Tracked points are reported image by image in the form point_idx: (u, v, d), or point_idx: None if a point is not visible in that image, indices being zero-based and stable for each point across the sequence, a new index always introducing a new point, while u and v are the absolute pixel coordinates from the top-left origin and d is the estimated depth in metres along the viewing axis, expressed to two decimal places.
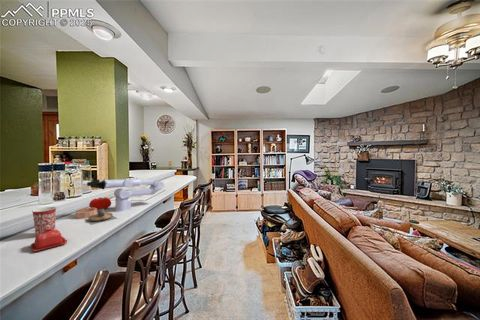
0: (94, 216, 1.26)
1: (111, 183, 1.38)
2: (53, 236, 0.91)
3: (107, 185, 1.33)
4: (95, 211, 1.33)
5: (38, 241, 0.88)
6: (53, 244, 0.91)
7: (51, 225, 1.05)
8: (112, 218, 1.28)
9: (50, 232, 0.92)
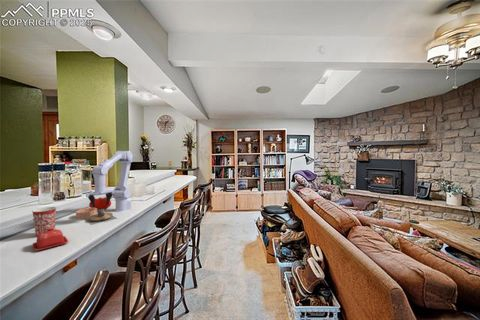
0: (94, 216, 1.26)
1: (105, 186, 1.28)
2: (55, 235, 0.92)
3: None
4: (95, 211, 1.33)
5: (40, 240, 0.89)
6: (55, 243, 0.92)
7: (51, 225, 1.05)
8: (112, 218, 1.28)
9: (52, 231, 0.93)
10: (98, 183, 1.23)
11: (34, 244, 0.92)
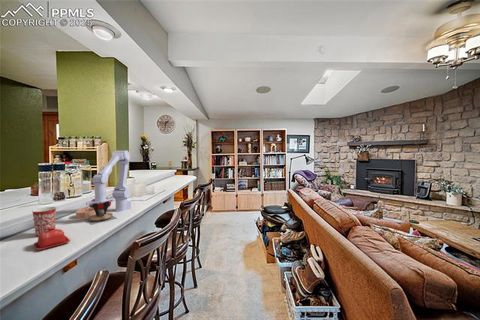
0: (94, 216, 1.26)
1: (105, 195, 1.28)
2: (57, 235, 0.93)
3: None
4: None
5: (42, 240, 0.89)
6: (56, 243, 0.92)
7: (51, 225, 1.05)
8: (112, 218, 1.28)
9: (53, 231, 0.93)
10: (98, 192, 1.24)
11: (35, 244, 0.92)
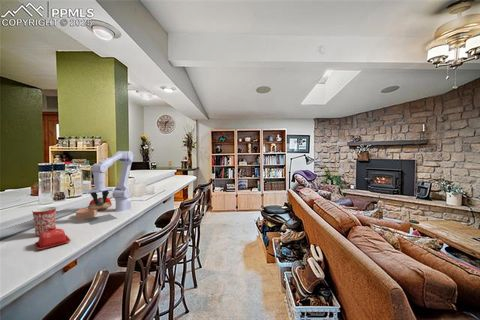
0: (93, 205, 1.26)
1: None
2: (57, 234, 0.93)
3: None
4: (95, 211, 1.33)
5: (42, 239, 0.89)
6: (57, 242, 0.93)
7: (51, 225, 1.05)
8: (112, 218, 1.28)
9: (54, 231, 0.94)
10: (97, 181, 1.24)
11: (36, 243, 0.93)
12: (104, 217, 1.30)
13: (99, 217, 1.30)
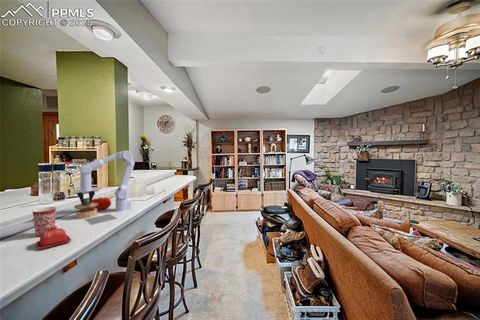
0: (80, 205, 1.31)
1: None
2: (58, 234, 0.94)
3: None
4: (95, 211, 1.33)
5: (43, 239, 0.90)
6: (58, 242, 0.93)
7: (51, 225, 1.05)
8: (112, 218, 1.28)
9: (55, 230, 0.94)
10: (80, 181, 1.29)
11: (37, 243, 0.93)
12: (104, 217, 1.30)
13: (99, 217, 1.30)
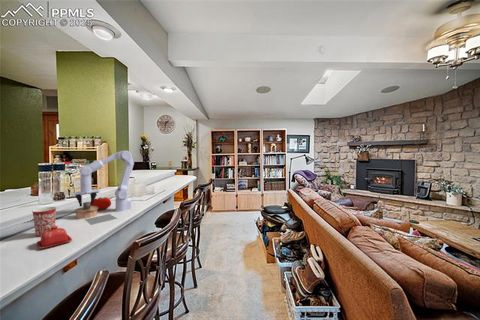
0: (80, 209, 1.31)
1: None
2: (59, 233, 0.94)
3: None
4: (95, 211, 1.33)
5: (44, 239, 0.90)
6: (59, 242, 0.93)
7: (51, 225, 1.05)
8: (112, 218, 1.28)
9: (56, 230, 0.95)
10: (80, 183, 1.29)
11: (38, 242, 0.93)
12: (104, 217, 1.30)
13: (99, 217, 1.30)
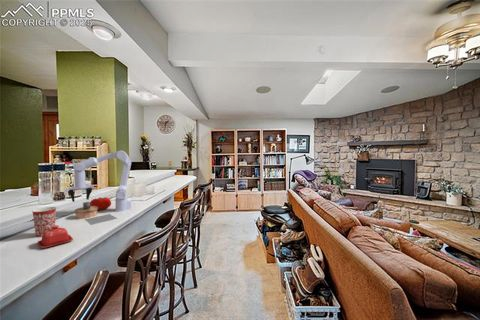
0: (80, 209, 1.31)
1: (85, 182, 1.35)
2: (60, 233, 0.94)
3: None
4: (95, 211, 1.33)
5: (45, 238, 0.91)
6: (60, 241, 0.94)
7: (51, 225, 1.05)
8: (112, 218, 1.28)
9: (57, 230, 0.95)
10: (74, 178, 1.31)
11: (39, 242, 0.94)
12: (104, 217, 1.30)
13: (99, 217, 1.30)
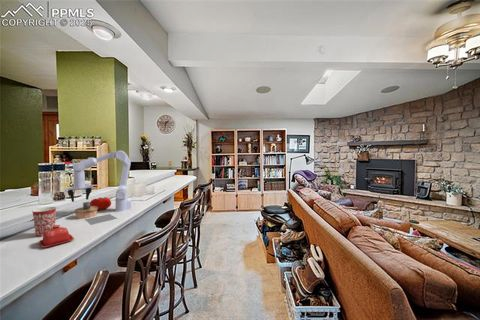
0: (80, 209, 1.31)
1: (84, 182, 1.36)
2: (61, 233, 0.95)
3: None
4: (95, 211, 1.33)
5: (47, 238, 0.91)
6: (61, 241, 0.94)
7: (51, 225, 1.05)
8: (112, 218, 1.28)
9: (58, 229, 0.96)
10: (74, 178, 1.32)
11: (40, 241, 0.94)
12: (104, 217, 1.30)
13: (99, 217, 1.30)
